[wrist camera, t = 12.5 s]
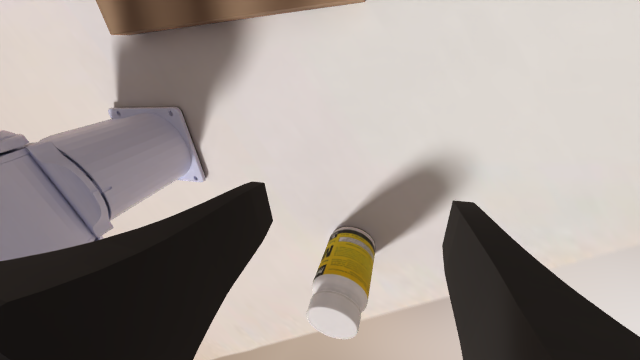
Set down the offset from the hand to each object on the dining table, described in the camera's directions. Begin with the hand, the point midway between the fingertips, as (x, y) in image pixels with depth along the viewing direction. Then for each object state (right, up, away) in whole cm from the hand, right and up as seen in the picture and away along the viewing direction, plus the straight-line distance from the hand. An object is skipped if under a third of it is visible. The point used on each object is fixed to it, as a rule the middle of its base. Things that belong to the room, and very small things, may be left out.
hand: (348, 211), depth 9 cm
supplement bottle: (+2, -5, +15) cm, 16 cm away
